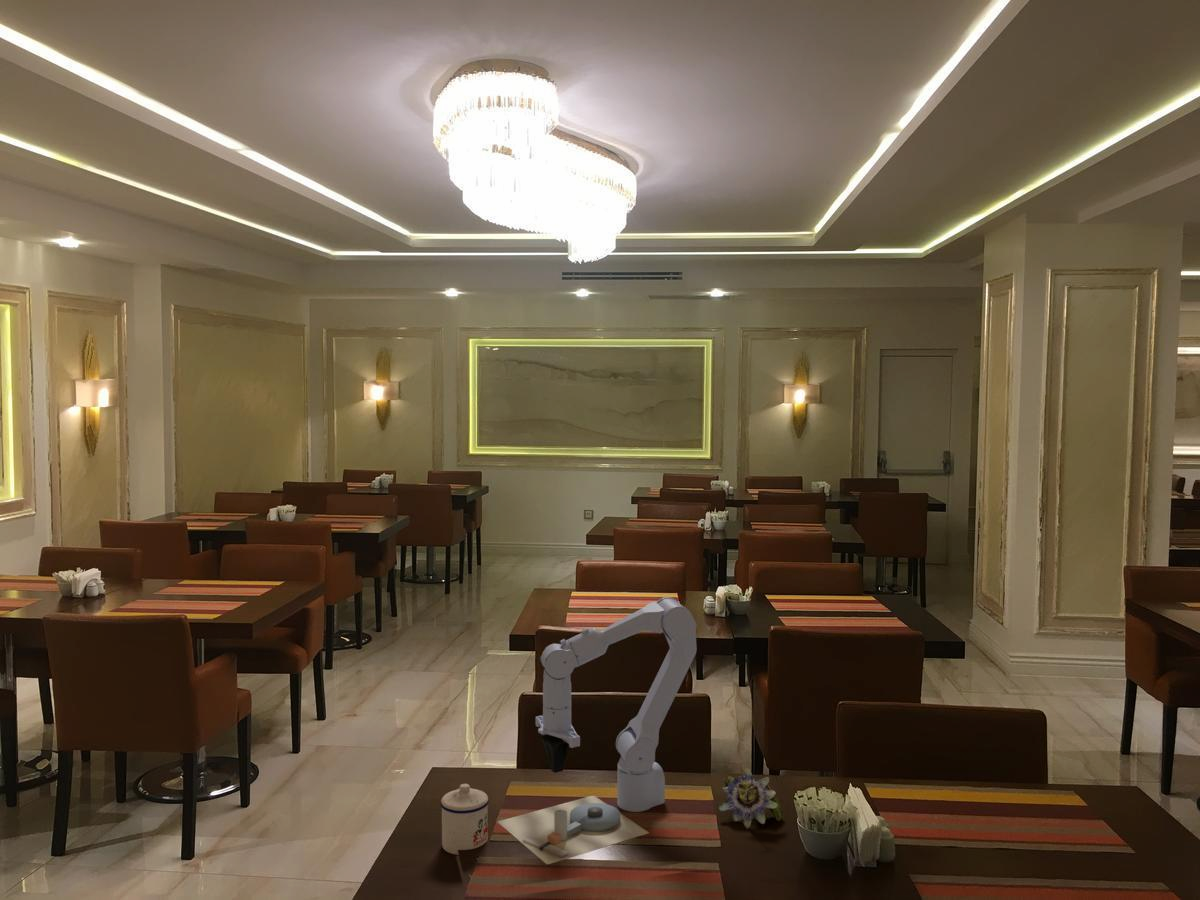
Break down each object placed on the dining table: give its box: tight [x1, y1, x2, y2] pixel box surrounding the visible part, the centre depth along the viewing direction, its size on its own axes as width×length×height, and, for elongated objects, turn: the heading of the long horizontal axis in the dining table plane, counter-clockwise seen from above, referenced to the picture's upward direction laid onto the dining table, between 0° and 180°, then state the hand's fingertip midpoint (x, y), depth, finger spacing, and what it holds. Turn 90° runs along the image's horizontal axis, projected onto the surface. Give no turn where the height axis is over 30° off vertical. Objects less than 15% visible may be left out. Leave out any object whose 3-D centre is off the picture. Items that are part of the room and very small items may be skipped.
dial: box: [547, 803, 621, 845], centre depth 186 cm, size 18×10×5 cm, turn 139°
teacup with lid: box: [439, 783, 490, 856], centre depth 182 cm, size 12×9×12 cm
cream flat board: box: [496, 795, 650, 865], centre depth 186 cm, size 23×20×2 cm
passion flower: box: [717, 768, 783, 830], centre depth 192 cm, size 11×11×12 cm
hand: (557, 770), depth 193 cm, fingers closed
